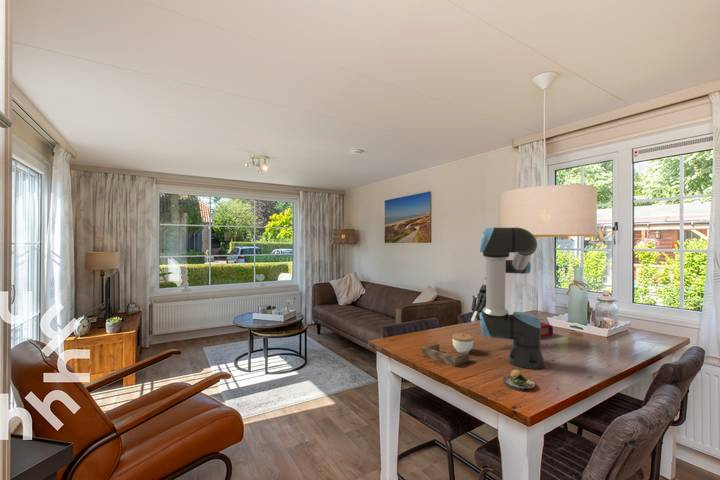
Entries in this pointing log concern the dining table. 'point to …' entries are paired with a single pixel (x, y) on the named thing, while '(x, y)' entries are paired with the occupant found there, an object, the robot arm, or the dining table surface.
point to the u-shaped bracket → (444, 355)
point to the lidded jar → (462, 342)
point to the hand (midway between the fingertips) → (472, 322)
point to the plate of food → (517, 381)
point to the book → (546, 330)
